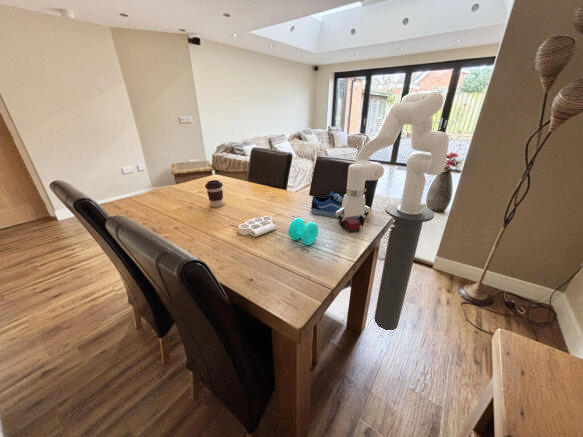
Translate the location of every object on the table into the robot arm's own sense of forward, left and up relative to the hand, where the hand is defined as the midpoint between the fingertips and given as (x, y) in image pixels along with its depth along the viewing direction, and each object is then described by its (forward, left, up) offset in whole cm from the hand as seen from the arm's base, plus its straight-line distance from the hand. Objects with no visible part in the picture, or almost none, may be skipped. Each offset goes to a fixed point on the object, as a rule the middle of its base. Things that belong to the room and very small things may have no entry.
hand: (351, 226), depth 112 cm
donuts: (+26, +5, -2) cm, 26 cm away
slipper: (0, -3, -1) cm, 3 cm away
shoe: (0, -17, -2) cm, 17 cm away
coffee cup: (+65, -51, -2) cm, 82 cm away
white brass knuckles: (+44, -12, -2) cm, 45 cm away
